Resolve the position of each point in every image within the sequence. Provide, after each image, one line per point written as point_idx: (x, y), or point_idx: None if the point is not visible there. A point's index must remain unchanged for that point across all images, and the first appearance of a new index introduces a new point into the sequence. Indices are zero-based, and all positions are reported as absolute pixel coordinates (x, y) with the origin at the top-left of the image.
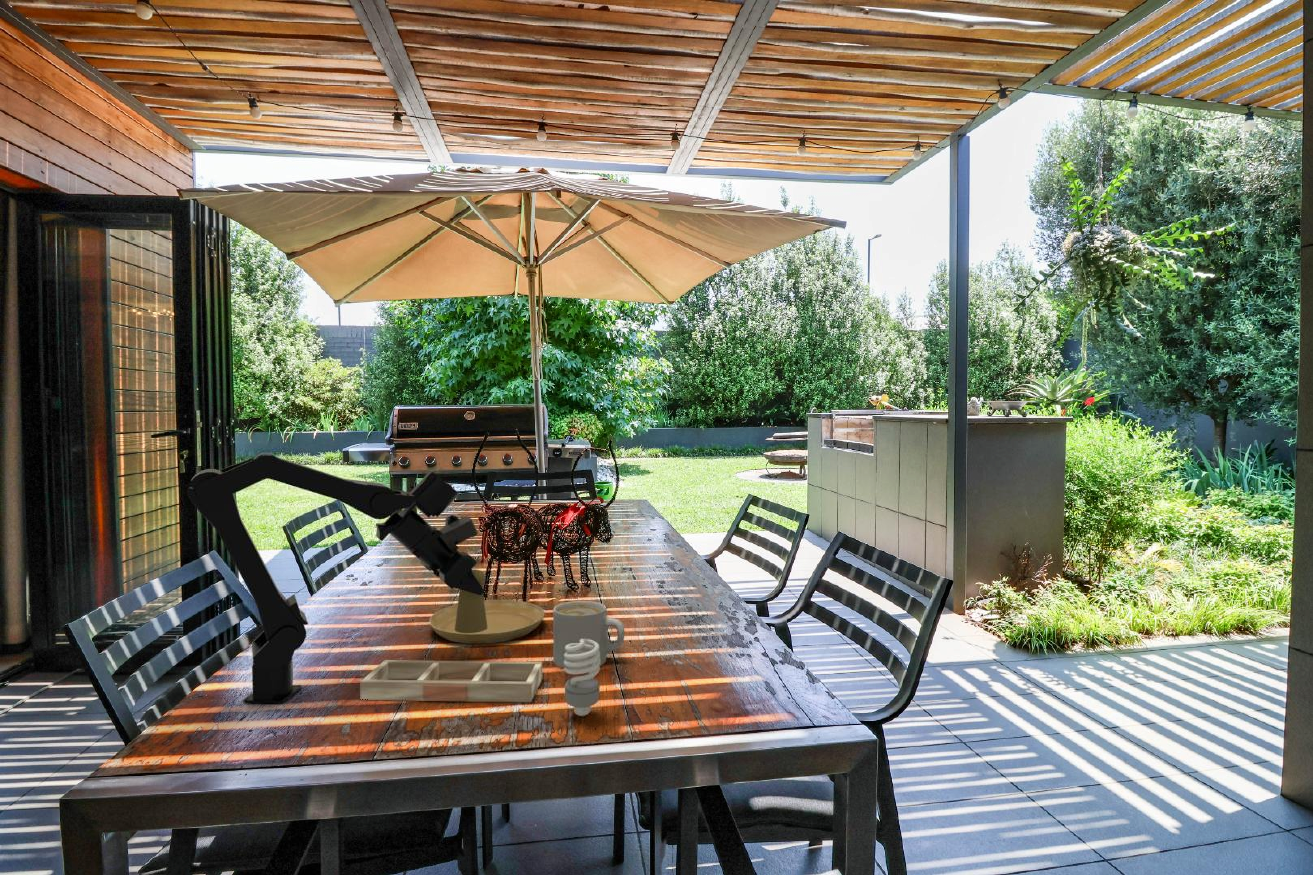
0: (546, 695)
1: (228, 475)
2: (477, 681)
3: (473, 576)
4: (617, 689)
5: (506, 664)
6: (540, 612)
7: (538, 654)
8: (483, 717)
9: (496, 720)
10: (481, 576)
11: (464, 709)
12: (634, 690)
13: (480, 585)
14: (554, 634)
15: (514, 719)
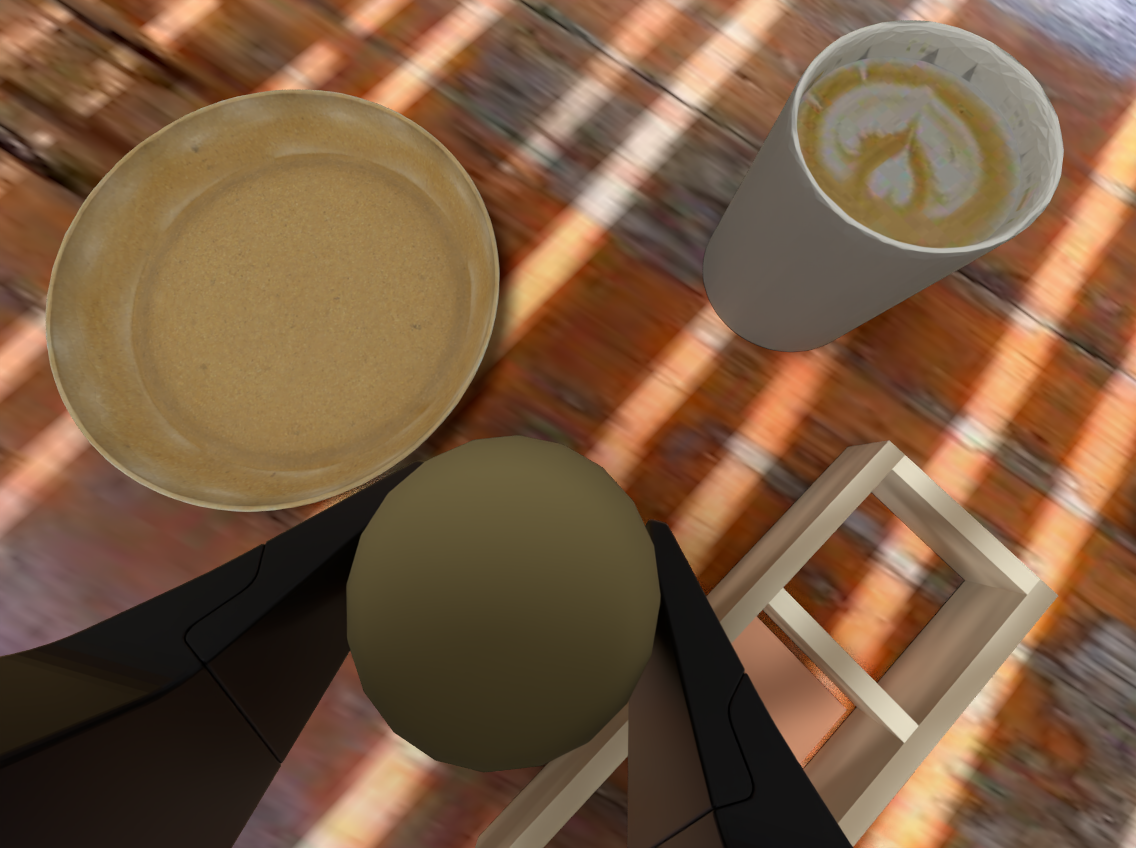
0: None
1: None
2: (922, 728)
3: (782, 752)
4: (1050, 340)
5: (821, 543)
6: (375, 120)
7: (653, 332)
8: (1009, 757)
9: (1052, 739)
10: (645, 540)
11: (918, 770)
12: (1084, 312)
13: (694, 582)
14: (818, 303)
15: (1076, 692)
